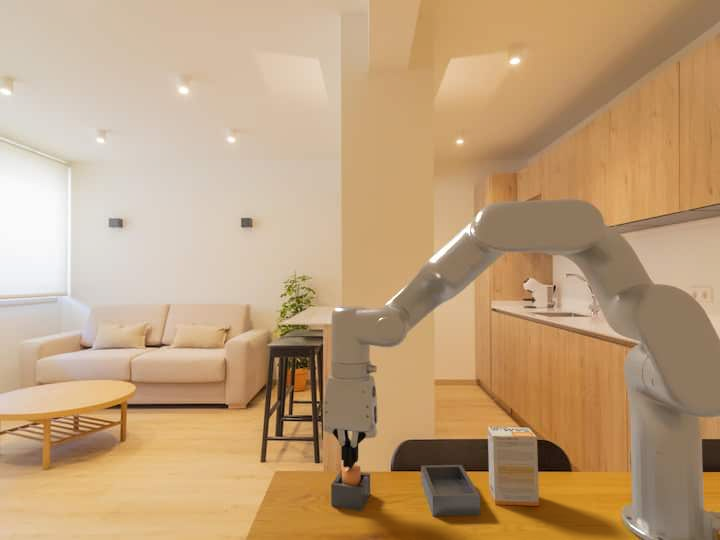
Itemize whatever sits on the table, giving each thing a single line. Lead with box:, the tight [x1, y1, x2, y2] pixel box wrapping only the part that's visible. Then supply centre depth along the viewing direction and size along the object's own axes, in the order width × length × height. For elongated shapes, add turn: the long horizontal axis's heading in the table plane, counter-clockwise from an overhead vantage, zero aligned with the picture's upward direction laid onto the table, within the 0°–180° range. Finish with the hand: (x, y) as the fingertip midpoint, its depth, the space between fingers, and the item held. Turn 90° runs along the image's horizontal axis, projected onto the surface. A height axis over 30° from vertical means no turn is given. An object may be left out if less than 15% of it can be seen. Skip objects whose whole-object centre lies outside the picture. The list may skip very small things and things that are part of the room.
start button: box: [341, 463, 361, 486], centre depth 75 cm, size 4×4×4 cm
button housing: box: [330, 469, 371, 512], centre depth 75 cm, size 6×6×4 cm
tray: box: [420, 464, 481, 517], centre depth 75 cm, size 9×12×4 cm
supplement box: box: [487, 426, 540, 507], centre depth 75 cm, size 8×5×13 cm, turn 84°
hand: (349, 464), depth 75 cm, fingers closed
